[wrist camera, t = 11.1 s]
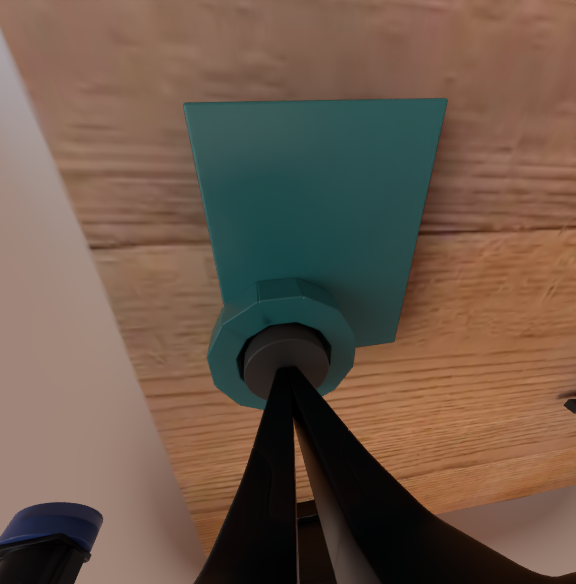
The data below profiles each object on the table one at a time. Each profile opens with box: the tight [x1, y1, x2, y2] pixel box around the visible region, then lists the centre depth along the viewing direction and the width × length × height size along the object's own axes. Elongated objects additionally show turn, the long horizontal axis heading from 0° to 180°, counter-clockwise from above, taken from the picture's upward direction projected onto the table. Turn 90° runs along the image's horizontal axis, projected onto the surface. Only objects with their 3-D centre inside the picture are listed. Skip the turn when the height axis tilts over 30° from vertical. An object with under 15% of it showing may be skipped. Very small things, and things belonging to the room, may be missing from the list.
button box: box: [183, 98, 448, 410], centre depth 10 cm, size 10×13×4 cm
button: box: [244, 322, 329, 400], centre depth 10 cm, size 4×4×2 cm
